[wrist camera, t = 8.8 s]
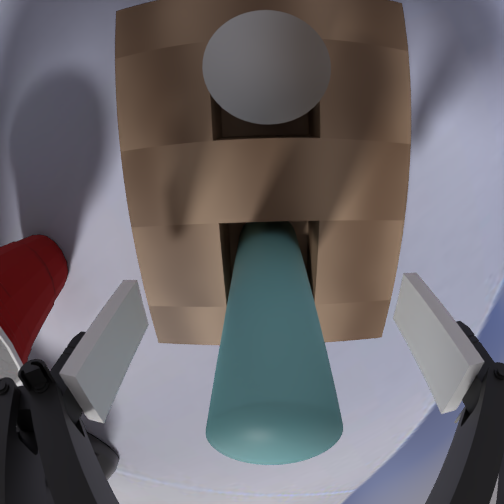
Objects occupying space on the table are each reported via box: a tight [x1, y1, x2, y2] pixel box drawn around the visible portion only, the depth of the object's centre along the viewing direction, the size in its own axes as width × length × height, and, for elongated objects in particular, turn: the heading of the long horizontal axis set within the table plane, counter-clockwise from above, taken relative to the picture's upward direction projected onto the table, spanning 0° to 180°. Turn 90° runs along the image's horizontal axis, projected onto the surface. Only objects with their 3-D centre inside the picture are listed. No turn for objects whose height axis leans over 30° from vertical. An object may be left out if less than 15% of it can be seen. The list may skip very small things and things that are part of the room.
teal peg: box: [206, 221, 343, 465], centre depth 14 cm, size 4×4×15 cm
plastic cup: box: [0, 235, 68, 386], centre depth 18 cm, size 11×11×12 cm
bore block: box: [115, 0, 411, 345], centre depth 15 cm, size 16×22×11 cm
